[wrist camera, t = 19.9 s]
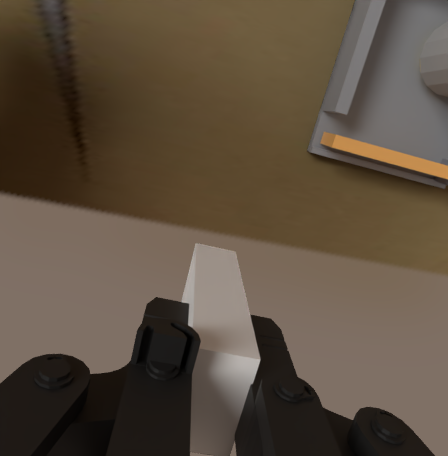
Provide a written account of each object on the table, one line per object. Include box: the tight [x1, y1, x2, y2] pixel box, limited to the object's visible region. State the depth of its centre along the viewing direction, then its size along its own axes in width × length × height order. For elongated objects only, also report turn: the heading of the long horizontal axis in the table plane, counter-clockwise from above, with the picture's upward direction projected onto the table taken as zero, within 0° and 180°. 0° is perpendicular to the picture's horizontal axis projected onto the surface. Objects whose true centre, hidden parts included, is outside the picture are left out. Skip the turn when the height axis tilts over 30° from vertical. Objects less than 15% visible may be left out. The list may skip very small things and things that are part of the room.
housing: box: [307, 0, 448, 189], centre depth 38 cm, size 15×19×5 cm
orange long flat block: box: [320, 132, 448, 179], centre depth 40 cm, size 12×1×4 cm, turn 75°
